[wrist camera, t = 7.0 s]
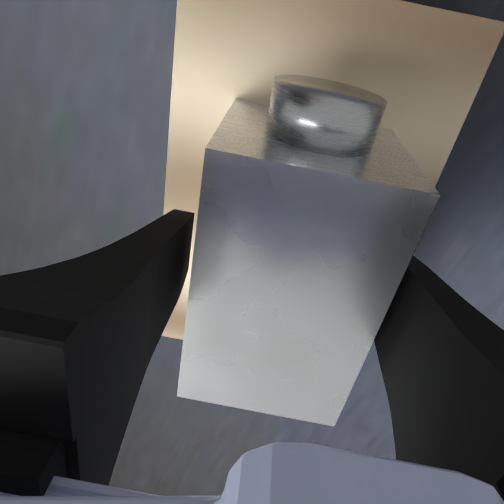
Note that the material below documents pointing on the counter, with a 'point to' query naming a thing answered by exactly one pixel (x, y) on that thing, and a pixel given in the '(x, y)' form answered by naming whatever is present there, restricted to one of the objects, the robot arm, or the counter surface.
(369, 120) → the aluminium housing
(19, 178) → the counter surface
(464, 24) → the wood stand
